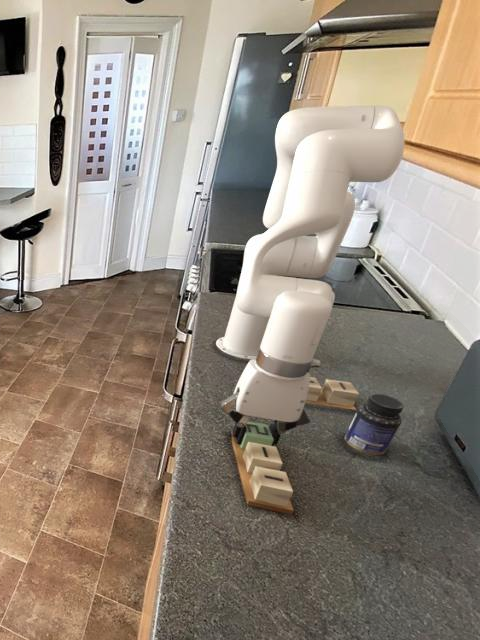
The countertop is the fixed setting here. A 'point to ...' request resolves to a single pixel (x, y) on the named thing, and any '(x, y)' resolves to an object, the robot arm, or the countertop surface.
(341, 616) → the countertop surface
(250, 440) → the green number cube
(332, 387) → the word
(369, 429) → the pill bottle
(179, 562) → the countertop surface
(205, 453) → the countertop surface
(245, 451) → the word
